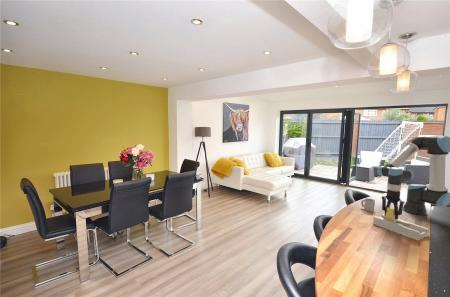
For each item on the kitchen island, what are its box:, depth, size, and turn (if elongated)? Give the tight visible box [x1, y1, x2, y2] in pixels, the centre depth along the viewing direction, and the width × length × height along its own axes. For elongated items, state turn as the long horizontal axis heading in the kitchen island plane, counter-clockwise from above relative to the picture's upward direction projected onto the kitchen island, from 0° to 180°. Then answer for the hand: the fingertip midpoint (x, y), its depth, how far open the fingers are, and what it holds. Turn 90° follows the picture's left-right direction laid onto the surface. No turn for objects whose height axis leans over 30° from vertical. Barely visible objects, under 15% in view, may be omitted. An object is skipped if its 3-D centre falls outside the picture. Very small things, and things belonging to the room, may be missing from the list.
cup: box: [360, 198, 376, 213], centre depth 189 cm, size 7×10×9 cm
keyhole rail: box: [372, 213, 430, 241], centre depth 153 cm, size 14×27×5 cm, turn 27°
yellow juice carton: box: [386, 206, 395, 221], centre depth 157 cm, size 7×4×12 cm, turn 118°
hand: (390, 222), depth 158 cm, fingers closed on yellow juice carton, 4 cm apart
